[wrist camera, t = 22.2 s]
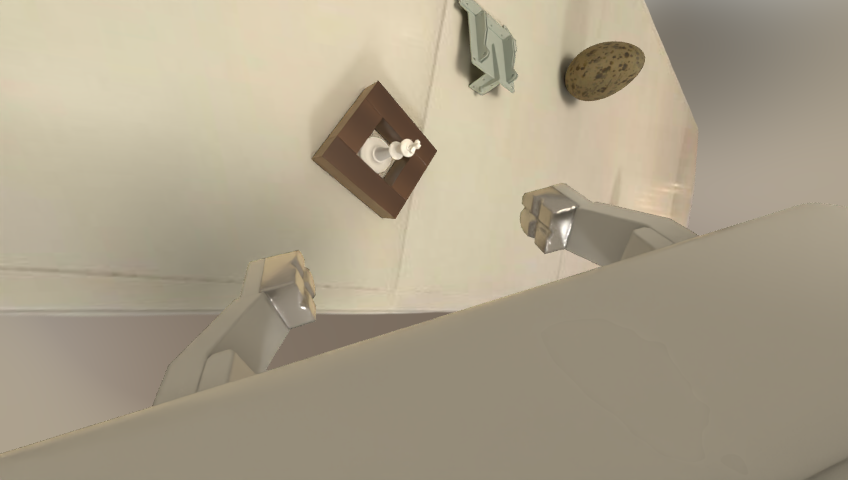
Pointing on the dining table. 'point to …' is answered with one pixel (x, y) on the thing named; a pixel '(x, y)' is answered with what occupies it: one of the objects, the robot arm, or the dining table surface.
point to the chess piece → (385, 152)
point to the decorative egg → (603, 70)
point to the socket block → (350, 136)
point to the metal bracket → (490, 49)
